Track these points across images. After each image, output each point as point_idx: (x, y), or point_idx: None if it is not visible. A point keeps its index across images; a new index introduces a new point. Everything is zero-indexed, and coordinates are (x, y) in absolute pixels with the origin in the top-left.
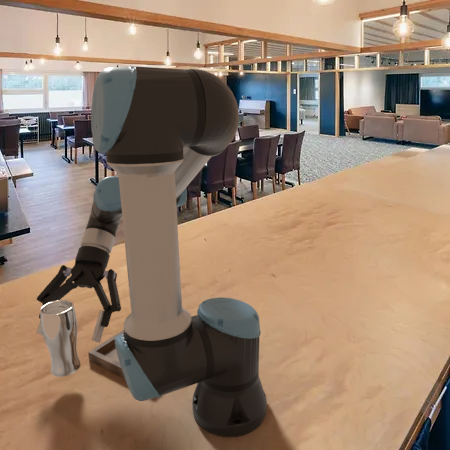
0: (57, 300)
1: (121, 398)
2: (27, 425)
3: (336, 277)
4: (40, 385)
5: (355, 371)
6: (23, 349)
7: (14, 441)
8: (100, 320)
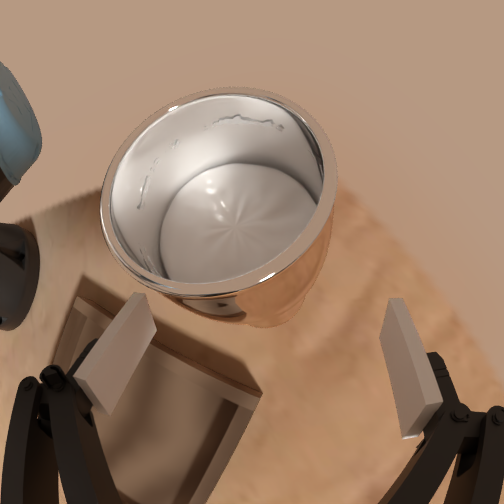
0: (265, 269)
1: None
2: None
3: None
4: (337, 280)
5: None
6: (460, 390)
7: None
8: (97, 345)
